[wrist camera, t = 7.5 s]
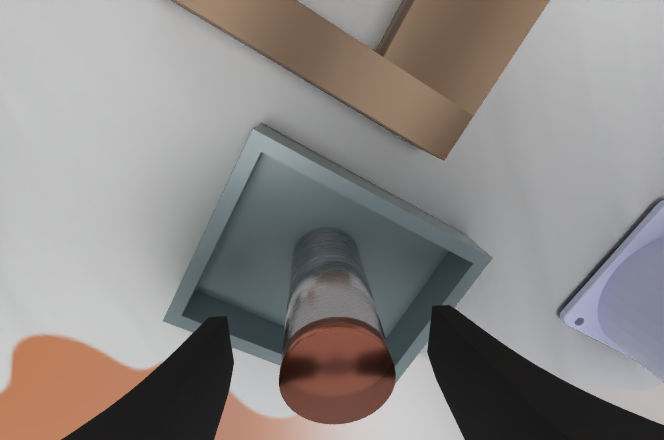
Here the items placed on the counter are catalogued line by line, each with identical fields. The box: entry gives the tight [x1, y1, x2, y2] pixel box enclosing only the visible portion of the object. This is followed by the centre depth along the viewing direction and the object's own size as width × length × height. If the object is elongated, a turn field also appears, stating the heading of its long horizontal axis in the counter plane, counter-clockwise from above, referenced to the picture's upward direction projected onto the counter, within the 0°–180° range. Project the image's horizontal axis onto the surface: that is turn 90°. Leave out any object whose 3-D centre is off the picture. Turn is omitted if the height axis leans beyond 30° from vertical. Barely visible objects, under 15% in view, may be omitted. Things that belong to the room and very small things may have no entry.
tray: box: [163, 123, 492, 383], centre depth 16 cm, size 11×9×2 cm
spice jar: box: [279, 227, 396, 424], centre depth 13 cm, size 3×3×8 cm
